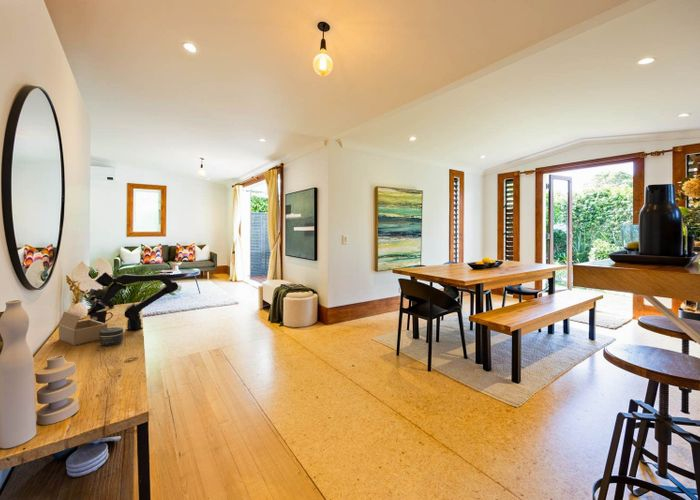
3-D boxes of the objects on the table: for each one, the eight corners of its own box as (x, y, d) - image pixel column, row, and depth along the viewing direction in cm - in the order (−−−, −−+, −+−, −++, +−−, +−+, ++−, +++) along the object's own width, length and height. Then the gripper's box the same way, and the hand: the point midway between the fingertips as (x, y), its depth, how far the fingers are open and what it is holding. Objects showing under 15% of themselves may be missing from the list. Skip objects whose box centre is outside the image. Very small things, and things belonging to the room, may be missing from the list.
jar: (118, 346, 160) (118, 331, 160) (95, 348, 157) (95, 333, 157) (126, 340, 170) (126, 326, 169) (104, 341, 166) (104, 327, 166)
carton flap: (59, 324, 167) (65, 311, 169) (74, 329, 159) (80, 316, 161) (58, 324, 167) (64, 311, 169) (73, 329, 159) (79, 316, 160)
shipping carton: (91, 332, 181) (91, 318, 180) (107, 338, 171) (107, 324, 171) (58, 339, 168) (58, 324, 167) (74, 346, 159) (74, 330, 158)
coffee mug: (85, 327, 189) (85, 311, 189) (100, 323, 198) (100, 308, 197) (99, 329, 186) (99, 313, 186) (114, 325, 194) (114, 310, 194)
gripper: (92, 281, 180) (67, 303, 171) (107, 284, 171) (82, 308, 162) (108, 293, 187) (85, 315, 178) (123, 297, 178) (100, 320, 169)
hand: (88, 314), depth 171 cm, fingers closed
